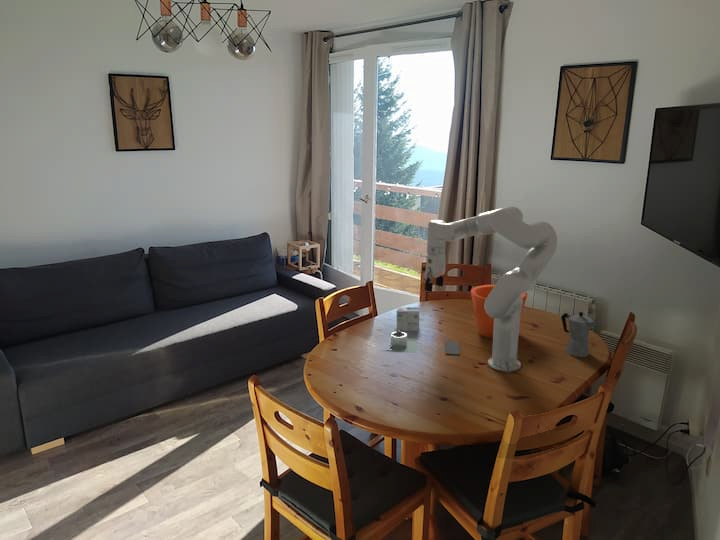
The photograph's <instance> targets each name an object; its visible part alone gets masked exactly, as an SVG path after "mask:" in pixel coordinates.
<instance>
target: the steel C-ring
mask: <svg viewBox="0 0 720 540" xmlns="http://www.w3.org/2000/svg"><path fill="white" fill-rule="evenodd" d="M390 337H391V345H392V346H393V347H405V346H406V345H407V338H408V333H407V332H404V331H401V337H396V331H393V332H391V333H390Z"/></svg>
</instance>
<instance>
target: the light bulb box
mask: <svg viewBox="0 0 720 540" xmlns="http://www.w3.org/2000/svg"><path fill="white" fill-rule="evenodd" d="M398 330H402V331H401V332H404V331H409V332H413V331H414V332H420V308H419V306H397V307H396V331H398Z"/></svg>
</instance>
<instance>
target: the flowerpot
mask: <svg viewBox="0 0 720 540" xmlns="http://www.w3.org/2000/svg"><path fill="white" fill-rule="evenodd" d="M495 285H496V284H484V285H478V286H477V285H476V286H475V287H472V288H471V289H470V295H471V300H472V305H473V310H474V315H475V319H476V324H477V325H476V326H477V329H478V333H479V335H481V337H483V336H484V338H486V339H489V338H490V339H491V340H493V331H494V318H491V317H490V316H489V315H488V314H487V313H486V311H485V307H484V305H485V300H486V298H487V297H488V295H489V294H490V292H491V291H492V289H493V288H494V286H495ZM521 296H522V300H523V304H522V310H521V314H520V318H521V317H522V314H523V311H524V307H525V304H526V302H527V298H528V291H527V292H526V293H524V294H522V295H521Z"/></svg>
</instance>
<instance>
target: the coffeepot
mask: <svg viewBox="0 0 720 540" xmlns="http://www.w3.org/2000/svg"><path fill="white" fill-rule="evenodd" d="M567 319H568V326H567ZM561 321H562V322H561V323H562V325H563V326H562V327H563V331H564V332H565V333H567V334H568V333H569V334H570V337H569V338H568V342H567V346H566V349H565V352H566V354H567V355H569V356H571V357H576V358H586V357H589V355H590V346H589V345H590V344H589V336H590V333H591V330H592V328H593V327H595V326H596V322H594V320H593V319H592V318H590V317H589V316H585V315H584V312H583V311H579V312H578V315H573V314H571V313H568V312H564V313H563V314H562V315H561ZM567 327H568V328H567Z"/></svg>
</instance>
